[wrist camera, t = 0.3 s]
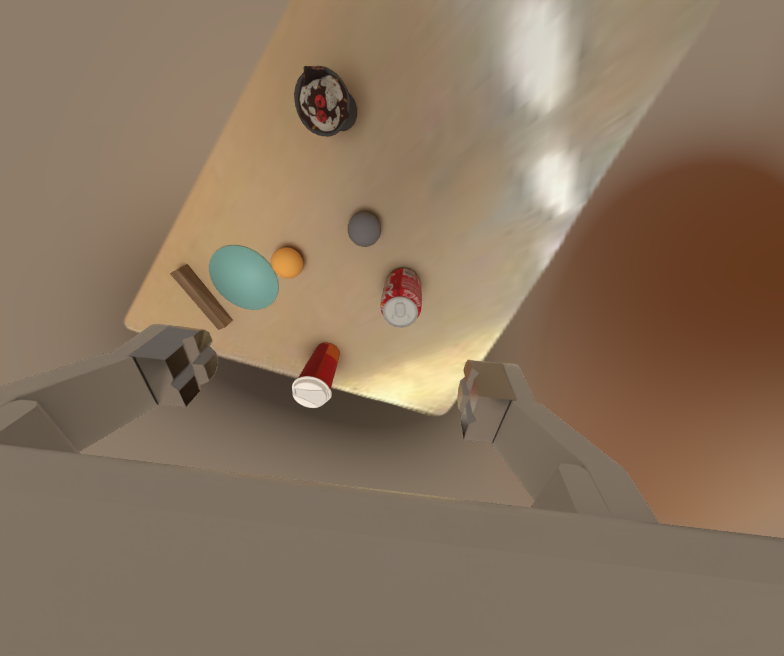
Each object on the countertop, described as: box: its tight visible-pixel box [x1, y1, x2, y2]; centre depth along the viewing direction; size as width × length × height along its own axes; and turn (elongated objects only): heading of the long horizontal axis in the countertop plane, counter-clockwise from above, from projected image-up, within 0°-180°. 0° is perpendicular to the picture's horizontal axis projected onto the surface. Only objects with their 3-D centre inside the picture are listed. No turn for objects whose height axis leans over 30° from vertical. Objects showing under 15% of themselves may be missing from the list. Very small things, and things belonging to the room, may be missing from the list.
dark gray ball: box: [348, 212, 381, 247], centre depth 49 cm, size 6×6×6 cm
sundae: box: [294, 66, 357, 137], centre depth 37 cm, size 7×7×15 cm
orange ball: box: [271, 248, 303, 278], centre depth 54 cm, size 6×6×6 cm
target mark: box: [209, 245, 278, 310], centre depth 59 cm, size 14×14×1 cm
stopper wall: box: [170, 264, 232, 330], centre depth 61 cm, size 2×14×3 cm, turn 23°
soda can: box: [381, 268, 422, 328], centre depth 52 cm, size 7×7×12 cm
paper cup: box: [292, 343, 340, 408], centre depth 62 cm, size 8×8×14 cm
